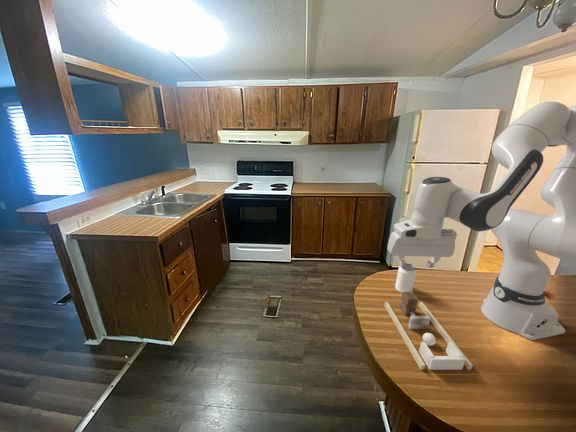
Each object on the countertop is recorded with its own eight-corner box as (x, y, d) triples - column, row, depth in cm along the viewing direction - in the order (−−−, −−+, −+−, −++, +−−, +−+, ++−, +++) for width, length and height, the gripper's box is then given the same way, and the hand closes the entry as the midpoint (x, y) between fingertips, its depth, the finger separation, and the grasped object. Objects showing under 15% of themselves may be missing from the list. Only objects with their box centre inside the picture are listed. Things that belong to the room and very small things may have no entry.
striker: (412, 307, 86) (415, 291, 83) (427, 328, 76) (432, 312, 74) (396, 307, 86) (399, 291, 83) (409, 329, 76) (413, 312, 74)
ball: (430, 338, 73) (432, 330, 72) (437, 348, 69) (439, 339, 68) (419, 338, 73) (421, 330, 72) (425, 348, 69) (427, 339, 68)
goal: (448, 352, 68) (452, 341, 67) (462, 369, 63) (465, 359, 62) (418, 352, 68) (421, 342, 67) (429, 370, 63) (432, 359, 62)
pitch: (420, 308, 87) (422, 301, 86) (469, 373, 64) (472, 365, 62) (383, 308, 87) (385, 302, 86) (419, 373, 63) (421, 365, 62)
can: (413, 297, 93) (419, 272, 89) (396, 295, 94) (401, 270, 90) (409, 287, 99) (414, 263, 95) (393, 285, 100) (397, 261, 96)
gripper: (451, 225, 76) (441, 262, 80) (389, 224, 76) (382, 260, 80) (464, 233, 70) (453, 272, 74) (397, 231, 70) (389, 270, 75)
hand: (416, 266), depth 77 cm, fingers open, 8 cm apart
